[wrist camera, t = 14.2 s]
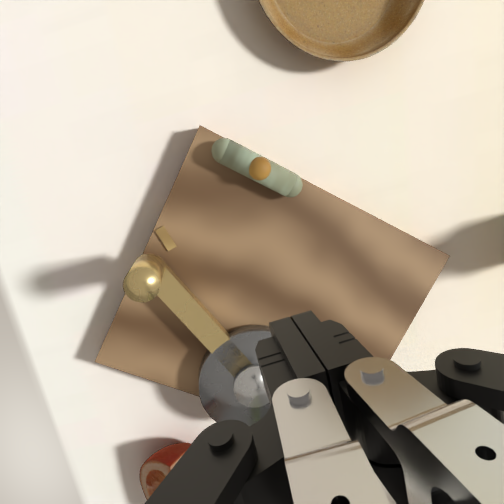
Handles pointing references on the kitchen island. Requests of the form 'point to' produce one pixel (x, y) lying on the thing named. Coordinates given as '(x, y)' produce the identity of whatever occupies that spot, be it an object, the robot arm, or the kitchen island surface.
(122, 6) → the kitchen island surface
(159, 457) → the fruit slice
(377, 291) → the levelling board
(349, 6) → the plant saucer
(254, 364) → the grey and tan lever
